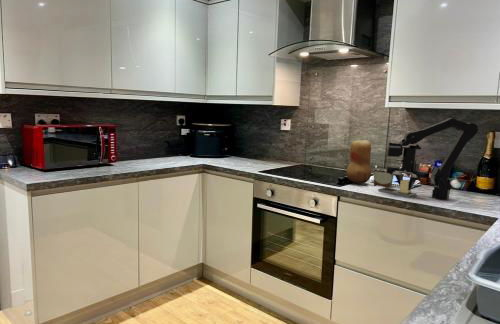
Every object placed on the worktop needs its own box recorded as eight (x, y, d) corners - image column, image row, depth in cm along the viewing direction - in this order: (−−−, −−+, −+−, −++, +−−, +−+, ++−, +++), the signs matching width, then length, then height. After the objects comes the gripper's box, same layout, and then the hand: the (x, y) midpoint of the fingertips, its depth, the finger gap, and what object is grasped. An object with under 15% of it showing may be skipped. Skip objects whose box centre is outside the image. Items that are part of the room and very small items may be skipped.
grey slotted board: (416, 197, 183) (416, 193, 182) (409, 199, 177) (409, 195, 177) (385, 191, 194) (385, 187, 194) (377, 193, 188) (378, 189, 188)
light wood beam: (410, 193, 182) (412, 181, 181) (407, 194, 180) (408, 181, 179) (402, 191, 185) (404, 179, 184) (399, 192, 182) (400, 180, 182)
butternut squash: (340, 182, 213) (344, 138, 209) (354, 180, 221) (358, 138, 218) (361, 187, 202) (366, 141, 199) (375, 184, 211) (379, 140, 207)
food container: (397, 189, 202) (399, 170, 201) (392, 190, 198) (394, 171, 197) (377, 184, 211) (378, 167, 210) (371, 185, 207) (373, 168, 206)
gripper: (435, 159, 179) (431, 191, 181) (397, 154, 192) (394, 184, 194) (426, 160, 171) (422, 194, 173) (387, 155, 184) (384, 186, 187)
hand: (405, 189), depth 182 cm, fingers closed on light wood beam, 4 cm apart
